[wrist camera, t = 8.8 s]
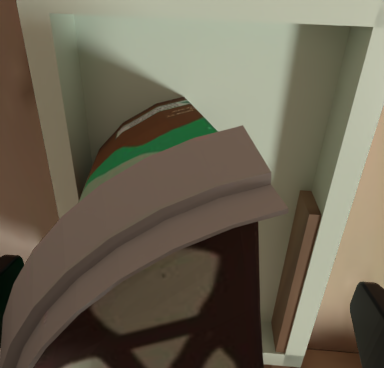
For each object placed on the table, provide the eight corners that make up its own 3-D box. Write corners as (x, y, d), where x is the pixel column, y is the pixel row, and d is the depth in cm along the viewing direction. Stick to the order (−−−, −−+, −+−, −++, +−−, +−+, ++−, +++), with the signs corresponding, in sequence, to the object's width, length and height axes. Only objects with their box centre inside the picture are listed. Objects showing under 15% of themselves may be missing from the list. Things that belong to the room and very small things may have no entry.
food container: (13, 82, 13) (-223, 271, 4) (179, 57, 13) (290, 174, 5) (96, 313, 19) (75, 588, 10) (207, 289, 19) (278, 527, 11)
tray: (383, -12, 12) (419, -10, 10) (292, 326, 21) (300, 367, 19) (48, -24, 13) (11, -25, 10) (98, 310, 22) (84, 348, 20)
